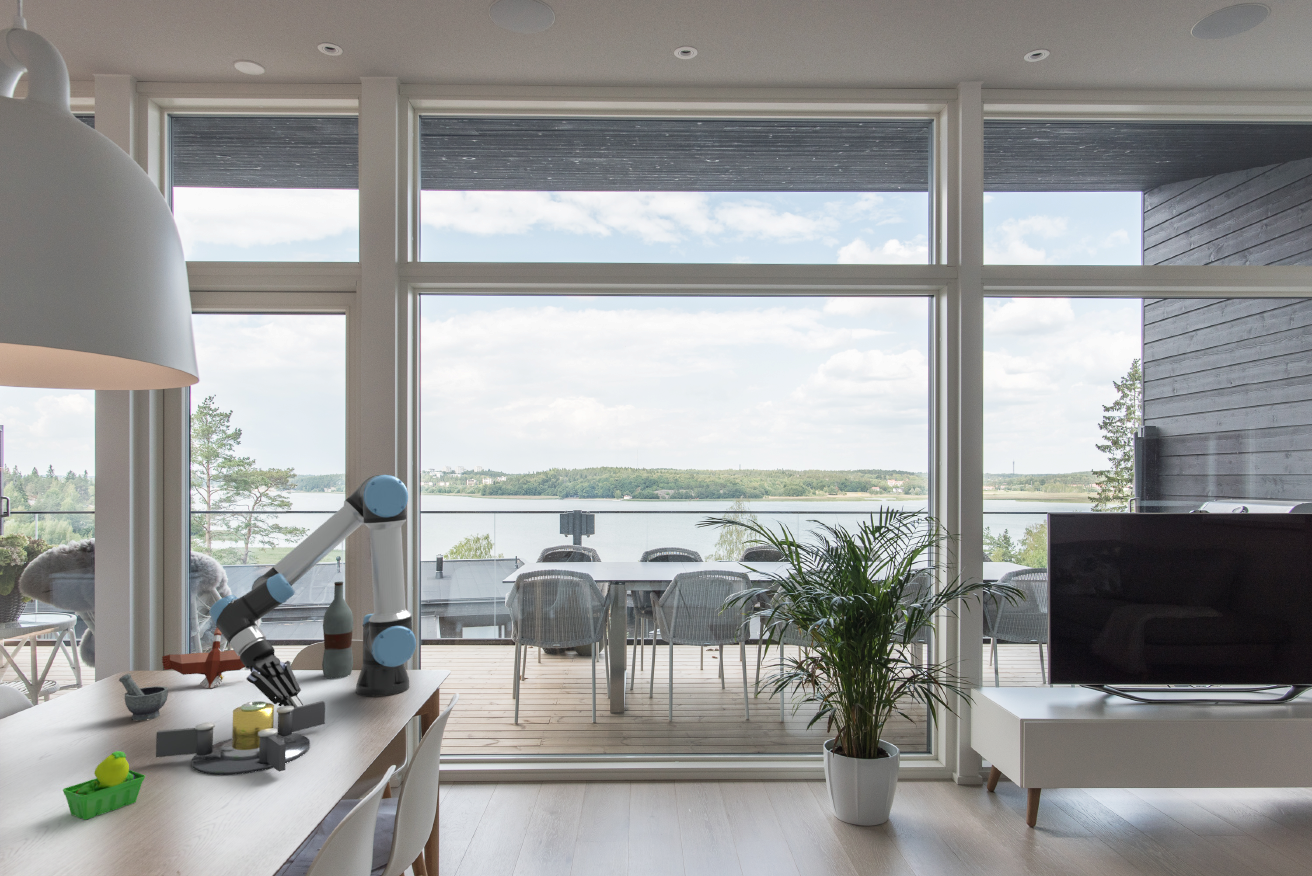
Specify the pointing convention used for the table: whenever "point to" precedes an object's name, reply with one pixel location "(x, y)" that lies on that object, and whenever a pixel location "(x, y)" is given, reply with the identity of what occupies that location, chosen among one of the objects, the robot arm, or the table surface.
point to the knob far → (185, 741)
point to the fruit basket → (105, 788)
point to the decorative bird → (205, 662)
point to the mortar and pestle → (143, 699)
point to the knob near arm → (300, 717)
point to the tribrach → (247, 743)
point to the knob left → (272, 749)
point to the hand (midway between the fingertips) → (304, 720)
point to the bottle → (337, 637)
